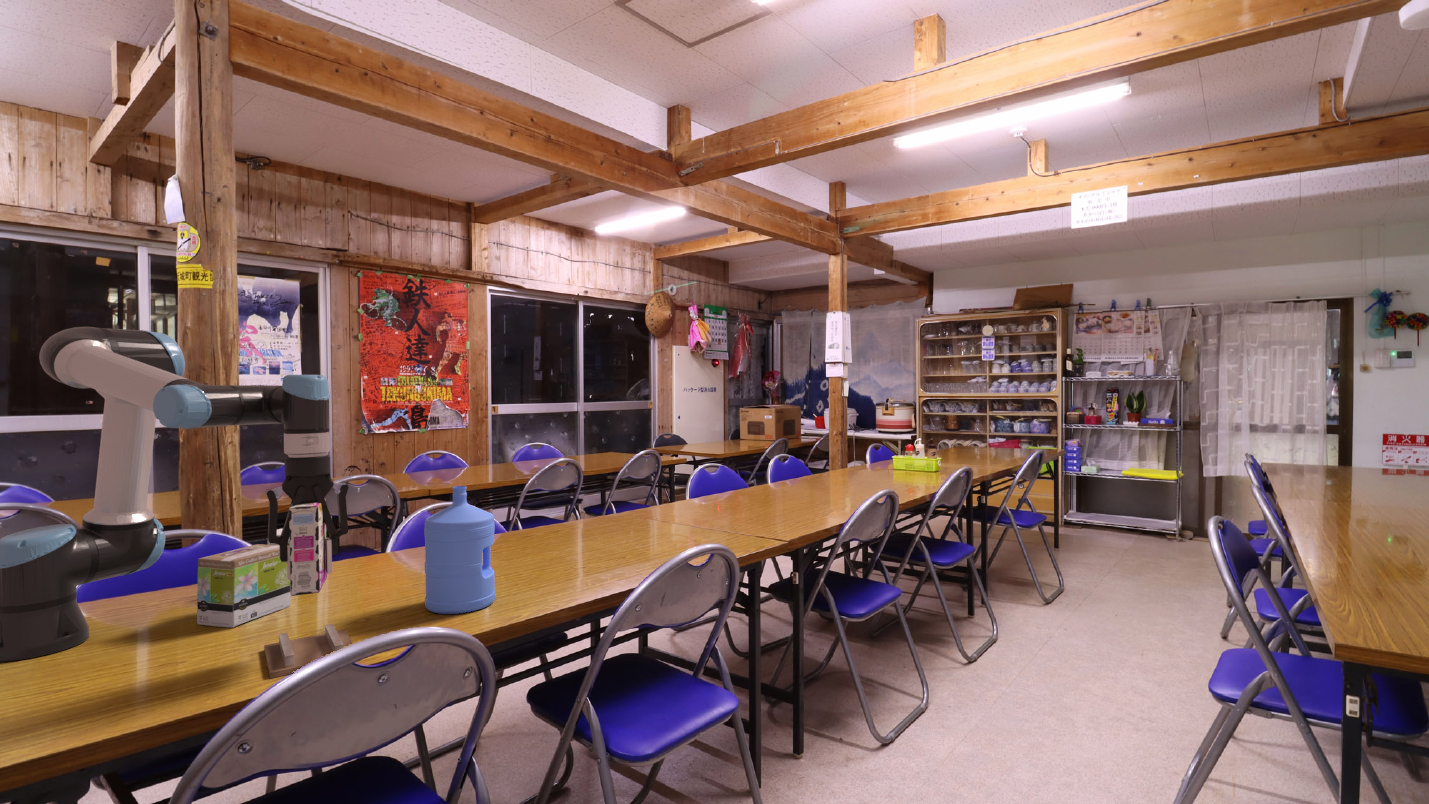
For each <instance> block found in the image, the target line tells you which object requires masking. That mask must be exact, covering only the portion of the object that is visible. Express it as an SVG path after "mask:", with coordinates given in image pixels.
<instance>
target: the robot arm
mask: <svg viewBox="0 0 1429 804" xmlns="http://www.w3.org/2000/svg"><path fill="white" fill-rule="evenodd" d="M39 350H40V351H39V364H40V365H41V367H42V370H43V371H44V372H45V373H46V375H48V376H49V377H50V378H52V379H53V380H55V381H57V382H59V383H60V384H61V383H62V384H64V385H67V386H69V387H71V388H76V389H93V390H95V391H96V392H97V393H98V394H99V396H101V397H102V398H104V404H103V405H104V407H103V416H102V424H101V434H100V443H99V444H100V445H99V452H98V453H99V454H98V462H97V473H96V481H95V491H94V502H93V508H92V509H90V510H89V511H88V512H86V513H85V514H84V515H82V522H81V527H80V528H76V527H75V526H74V525H73V524H70V523H59V524H58V523H57V524H50V525H45V526H37V527H32V528H28V529H23V530H21V531H16V532H13V533H11V534H8V535H5V536H3V537H1V538H0V662H12V661H20V660H27V659H31V658H38V657H42V656H46V655H51V654H54V653H58V652H61V651H64V650H67V649H71V648H73V647H76V646H78V645H81V644H82V643H85V641H87V640H89V638H90V625H89V624H88V622H87V620H86V618H85V616H84V613H83V612H82V610H81V607H80V606H79V603H78V601H77V599H78V598H77V586H81V585H86V584H89V583H93V582H98V581H102V580H106V579H111V578H116V577H120V576H128V575H132V574H133V573H135V572H140V571H143V570H147V569H148V568H150V567H152V566H153V565H154V564H155V563H157V561H159V559H160V557H161V556H162V554H163V552H164V548H165V546H166V545H165V544H166V533H165V532H164V531H163V530H164V526H163V524H162V523H161V521H159V520H158V519H157V518H155V513H154V512H153V511H152V510H151V509H149V508H148V507H147V504H148V503H147V502H148V494H149V493H148V492H149V486H150V475H151V468H152V467H151V466H152V458H153V450H154V440H155V439H154V438H155V431H156V423H157V420H159V424H161V426H163V427H165V428H169V429H185V430H191V429H196V428H197V429H198V428H213V427H214V428H215V427H227V426H229V427H230V426H247V425H248V426H250V425H251V426H252V425H269V424H271V425H272V424H273V425H274V424H276V425H277V424H278V425H279V424H282V425H283V453H284V454H285V455H287V456H286V457H285V458H284V460H283V462H284V465H283V466H284V478H283V479H284V480H283V482H282V484H281V486H279V487H278V486H277V487H276V488H268V489H266V491H265V495H266V497H267V500H268V503H269V504H268V520H267V523H268V525H267V538H268V539H267V540H268V541H269V542H270V543H275V544H278V545H279V546H280V560H281V562H287V578H288V580H290V543H288V540H289V537H290V528H289V510H288V513H287V515H286V518H285V521H284V524H283V527H282V528H283V530H282V533H281V536H277V529H278V510H279V509H278V508H279V505H278V504H279V503H278V501H279V500H280V499H281V497H282V493H285V494H286V496H288V498H289V499H291V501H290V504H289V508H290V507H291V506H293V505H300V504H305V503H316V502H318V503H321V506H322V512H323V518H324V522H325V525H326V531H327V533H328V535H329V537H326V538H325V559H326V572H327V575H330V574H333V557H332V556H334V555H335V556H337V555H338V553H339V538H340V537H343V535H347V534H349V522H348V507H347V494H348V491H349V484H346V482H345V483H344V482H342V483H341V482H334V480H333V479H332V477H331V476H332V475H331V456H330V455H328V454H327V453H329V452H330V451H331V447H330V446H331V444H330V443H331V441H330V440H331V439H330V437H331V436H330V428H331V427H330V399H331V394H330V388H329V381H328V378H327V377H326V376H325V375H323V374H287V375H284V377H283V378H282V384H281V385H271V384H270V385H267V384H266V385H264V384H251V385H246V384H245V385H244V384H243V385H242V384H241V385H239V384H238V385H237V384H235V385H232V384H231V385H230V384H229V385H228V384H226V385H225V384H221V385H219V384H204V383H201V382H197V381H194V380H192V379H189V378H187V377H184V375H185V370H186V360H185V356H184V354H183V351H182V349H181V347H180V346H179V344H178V342H176V340H175V339H174V338H172V337H171V336H169V335H168V334H166V333H163V332H156V331H150V330H144V329H142V330H141V329H140V330H139V329H125V328H108V327H107V328H106V327H105V328H102V327H95V326H76V327H71V328H66V329H63V330H61V331H58V332H56V333H53V335H51V336H49V337H48V338H47V340H45V341H44V343H43V344H42V346H41V348H40V349H39ZM332 488H333V489H334V490H333V491H334V493H335V494H336V499H337V500H336V501H337V514H338V515H337V516H338V526H339V528H337V529H336V526H335V524H334V521H333V518H332V516H331V513H330V510H329V508H328V507H329V506H328V503H327V501H325V499H326V496H327V495H328V494H329V492H330V491H331V490H332Z"/></svg>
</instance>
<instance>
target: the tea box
mask: <svg viewBox="0 0 1429 804" xmlns="http://www.w3.org/2000/svg"><path fill="white" fill-rule="evenodd" d="M196 598H197V600H196V601H197V602H196V603H197V606H196V607H197V608H196V609H197V610H196V611H197V612H196V613H197V614H196V618H197V619H196V623H197V625H200V626H208V627H218V628H219V627H220V628H235V627H238V626H240V625H242V624H244V623H248V622H249V621H253V620H255V619H258V618H261V617H264V616H267V615H271V614H272V613H276V612H278V611H282V610H284V609H287V608H290V607H291V590H290V580H288V578H287V562H281V560H280V546H279V545H268V544H262V543H261V544H258V543H256V544H252V545H248V546H245V547H239V548H235V549H233V550H228V551H224V552H221V553H215V554H211V555H207V556H203V557H200V558H197V597H196Z"/></svg>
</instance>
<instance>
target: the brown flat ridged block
mask: <svg viewBox="0 0 1429 804" xmlns="http://www.w3.org/2000/svg"><path fill="white" fill-rule="evenodd" d="M352 643H353V641H352V639H351V637H350V636H349V634H348V632H347V630H346V629H341V630H337V629H336V627H335V625H334V623H329V624H325V625H324V633H321V634H315V635H310V636H305V637H300V638H295V639H290V637H289V634H288V632H282V633H279V634H278V642H274V643H270V644H269V643H268V644H264V645H263V646H264V647H263V649H264V655H265V662H266V666H267V670H268V675H269V679H274V678H279V677H282V676H283V677H284V676H288V675H292V674H291V673H292V672H293V671H296V670H297V669H300V668H301V667H302V666H305V665H306V664H308V663H310V662H311V661H313V660H315V659H318V658H320V657H321V656H325V655H326V654H330V653H331V652H333V651H337V650H339V649H341V648H343V647H344V646H348V645H349V644H352Z"/></svg>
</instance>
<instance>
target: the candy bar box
mask: <svg viewBox="0 0 1429 804" xmlns="http://www.w3.org/2000/svg"><path fill="white" fill-rule="evenodd" d="M324 499H325V501H326V498H324ZM326 502H327V501H326ZM288 511H289V528H290V583H291V590H290V597H295V596H304V595H313V594H319V593H320V592H321V590H322V587H324V586H323V585H324V584H325V582H326V581H327V577H328V574H327V572H326V559H325V538H327V528H326V525H325V522H324V518H323V512H322V506H321V503H318V502H316V503H305V504H300V505H293V506H291V507H290V506H289V508H288Z"/></svg>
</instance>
